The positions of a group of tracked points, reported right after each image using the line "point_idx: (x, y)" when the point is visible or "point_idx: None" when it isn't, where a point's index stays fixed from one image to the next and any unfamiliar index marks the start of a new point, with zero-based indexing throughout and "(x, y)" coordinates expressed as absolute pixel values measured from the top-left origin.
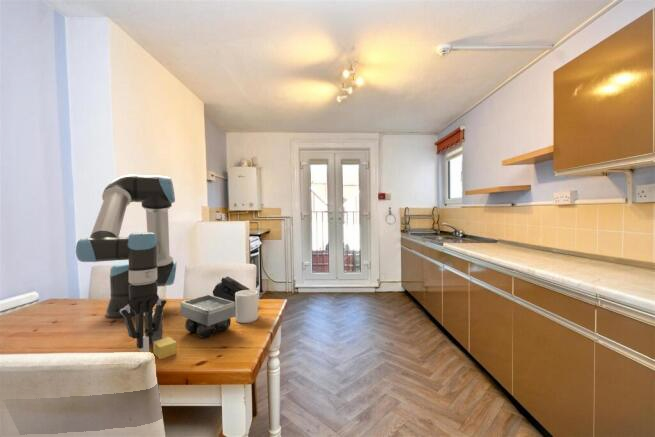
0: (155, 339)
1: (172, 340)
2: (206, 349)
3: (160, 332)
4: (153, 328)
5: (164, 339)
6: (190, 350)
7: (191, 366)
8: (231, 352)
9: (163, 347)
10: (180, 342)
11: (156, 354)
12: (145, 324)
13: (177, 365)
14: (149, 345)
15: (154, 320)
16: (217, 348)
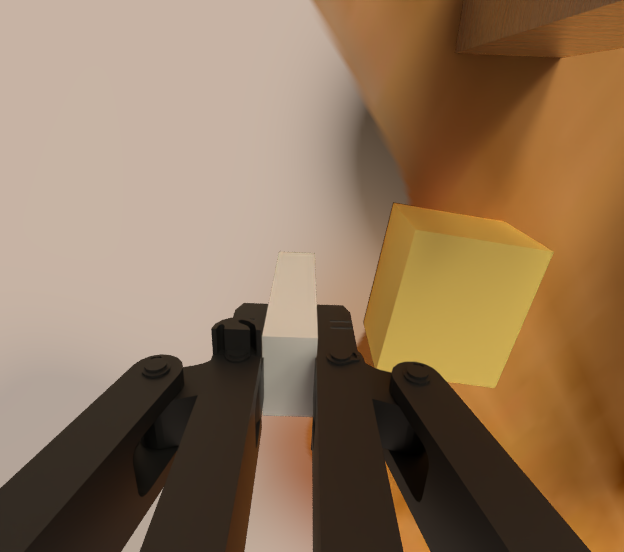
0: (524, 49)
1: (504, 341)
2: (572, 428)
3: (615, 43)
4: (388, 441)
5: (490, 270)
6: (527, 370)
7: (399, 501)
8: (585, 534)
9: None
10: (607, 205)
11: (380, 268)
12: (317, 459)
13: None
14: (459, 32)
15: (443, 516)
16: (603, 462)
